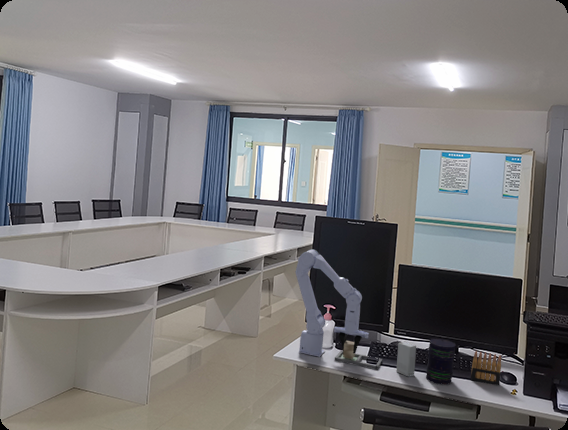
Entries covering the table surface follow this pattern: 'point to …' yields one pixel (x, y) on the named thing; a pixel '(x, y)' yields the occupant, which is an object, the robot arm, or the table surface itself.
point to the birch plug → (348, 350)
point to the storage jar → (440, 361)
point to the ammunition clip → (486, 369)
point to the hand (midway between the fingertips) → (349, 351)
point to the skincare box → (406, 358)
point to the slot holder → (357, 360)
